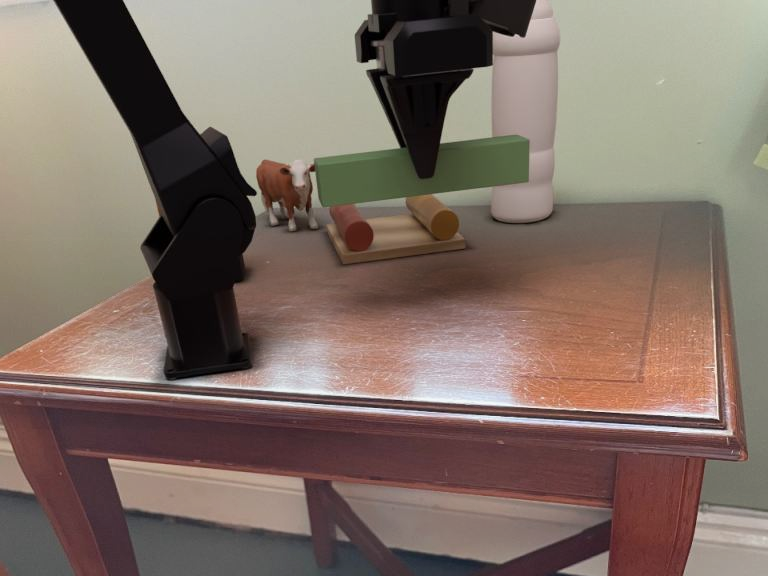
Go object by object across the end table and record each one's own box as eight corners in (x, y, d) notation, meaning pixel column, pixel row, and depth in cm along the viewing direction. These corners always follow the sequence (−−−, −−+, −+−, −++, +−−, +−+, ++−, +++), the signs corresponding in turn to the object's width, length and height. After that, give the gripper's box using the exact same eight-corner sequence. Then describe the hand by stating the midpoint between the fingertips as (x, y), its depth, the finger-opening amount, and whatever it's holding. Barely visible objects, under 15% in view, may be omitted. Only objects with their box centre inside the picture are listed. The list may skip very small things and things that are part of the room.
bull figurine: (300, 240, 88) (289, 164, 83) (257, 221, 98) (246, 151, 93) (334, 233, 90) (325, 158, 85) (289, 214, 100) (279, 146, 95)
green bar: (529, 182, 58) (530, 139, 57) (322, 207, 57) (317, 164, 55) (517, 175, 61) (517, 134, 59) (318, 199, 59) (313, 158, 58)
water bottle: (509, 207, 93) (512, -45, 79) (562, 211, 90) (576, -53, 76) (480, 221, 89) (478, -44, 75) (535, 226, 85) (544, -52, 71)
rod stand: (465, 248, 80) (465, 208, 78) (343, 264, 78) (338, 224, 76) (434, 219, 91) (433, 183, 89) (327, 232, 90) (323, 197, 88)
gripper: (581, -114, 43) (567, 184, 51) (489, -80, 58) (490, 145, 67) (385, -97, 42) (404, 204, 50) (344, -67, 57) (364, 159, 66)
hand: (421, 174), depth 58 cm, fingers closed on green bar, 3 cm apart
